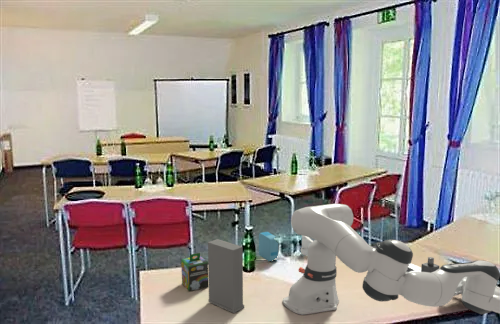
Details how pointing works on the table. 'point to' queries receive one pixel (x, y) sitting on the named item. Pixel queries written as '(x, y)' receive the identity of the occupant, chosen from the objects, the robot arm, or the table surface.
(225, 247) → the tall grey upright box
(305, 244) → the white angled block
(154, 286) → the table surface
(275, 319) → the table surface
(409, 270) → the socket
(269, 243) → the data package
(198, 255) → the chalk box
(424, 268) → the plug
